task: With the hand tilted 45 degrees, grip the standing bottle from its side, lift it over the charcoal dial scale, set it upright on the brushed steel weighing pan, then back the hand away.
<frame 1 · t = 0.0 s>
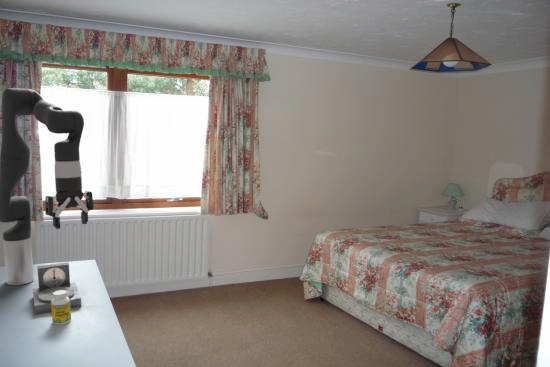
hand: (71, 226, 149), 29 cm above the table, tool pointing down, fingers open, 8 cm apart
scale: (56, 301, 164), on the table
supplement bottle: (61, 322, 148), on the table
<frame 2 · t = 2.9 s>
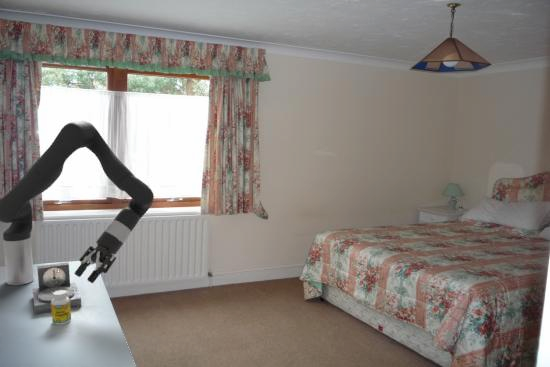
hand: (83, 278, 152), 12 cm above the table, tool tilted 45°, fingers open, 8 cm apart
nothing on the table moved.
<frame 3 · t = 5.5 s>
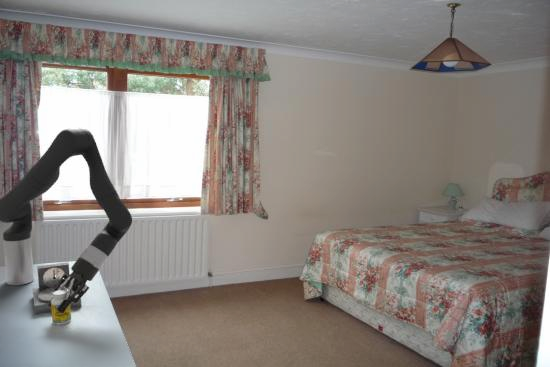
hand: (55, 308, 146), 5 cm above the table, tool tilted 45°, fingers closed on supplement bottle, 5 cm apart
supplement bottle: (61, 322, 148), on the table, touching gripper
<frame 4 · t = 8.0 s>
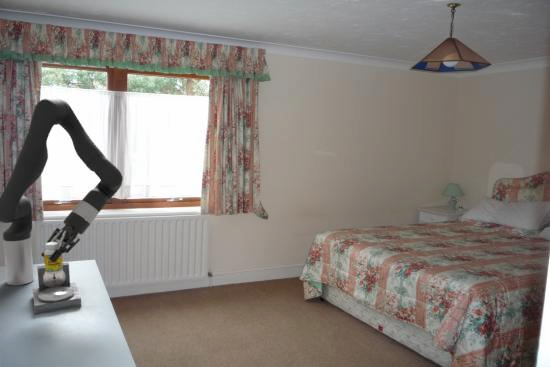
hand: (47, 258, 154), 18 cm above the table, tool tilted 45°, fingers closed on supplement bottle, 5 cm apart
supplement bottle: (54, 272, 156), point 13 cm above the table, touching gripper
when the fingers open (10 cm above the table, at t = 10.6 s): supplement bottle drops 1 cm, resting on scale.
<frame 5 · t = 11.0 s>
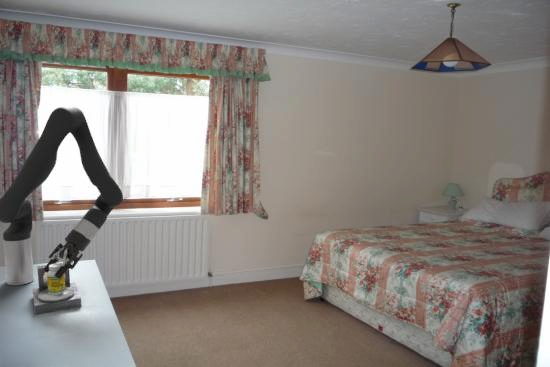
hand: (51, 274, 159), 11 cm above the table, tool tilted 45°, fingers open, 8 cm apart
supplement bottle: (56, 292, 161), point 4 cm above the table, touching scale
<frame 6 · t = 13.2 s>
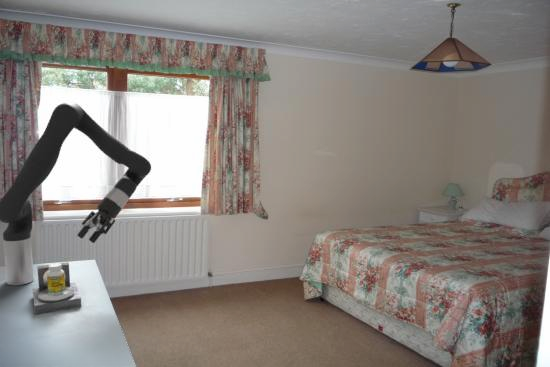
hand: (85, 239, 167), 21 cm above the table, tool tilted 45°, fingers open, 8 cm apart
nothing on the table moved.
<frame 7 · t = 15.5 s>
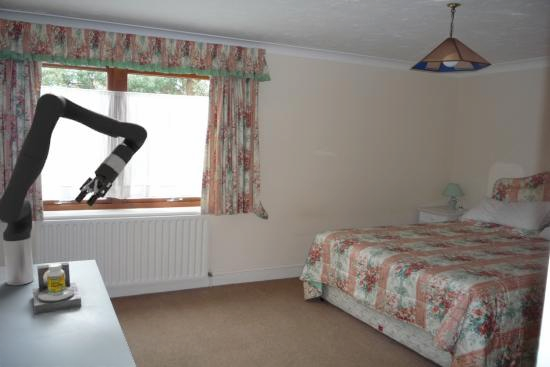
hand: (82, 203, 169), 33 cm above the table, tool tilted 45°, fingers open, 8 cm apart
nothing on the table moved.
at the end: supplement bottle inside the target area on the scale (0.2 cm from its centre), point 4.0 cm above the scale's base; supplement bottle tilted 0°; the gripper is holding nothing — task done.
